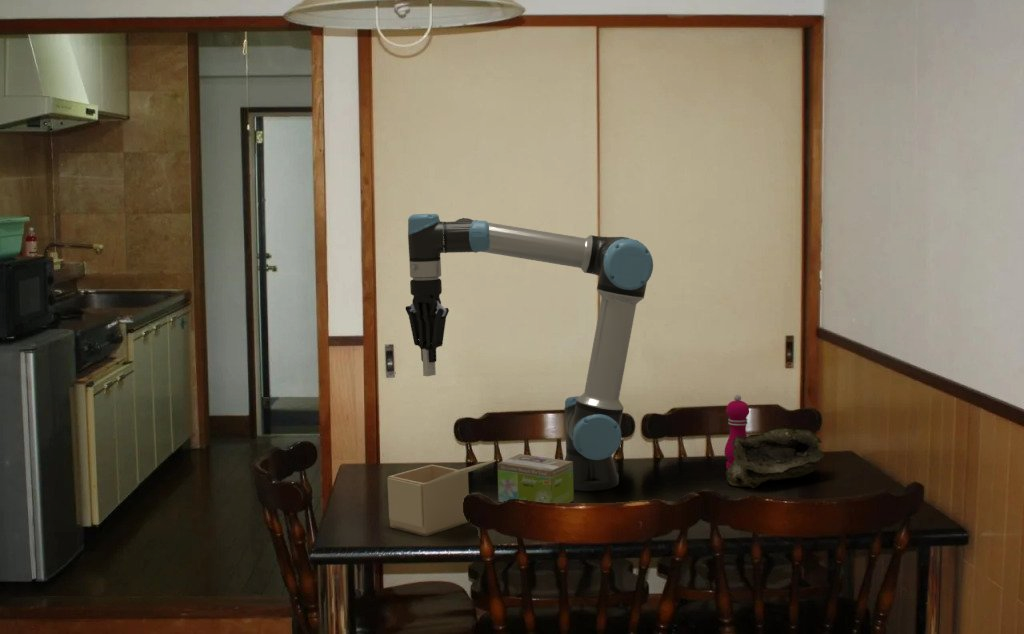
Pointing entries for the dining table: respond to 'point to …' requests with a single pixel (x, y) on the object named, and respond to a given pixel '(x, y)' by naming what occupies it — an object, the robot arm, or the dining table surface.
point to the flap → (460, 471)
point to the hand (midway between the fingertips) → (429, 375)
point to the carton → (426, 500)
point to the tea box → (535, 479)
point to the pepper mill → (735, 425)
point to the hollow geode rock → (773, 456)
